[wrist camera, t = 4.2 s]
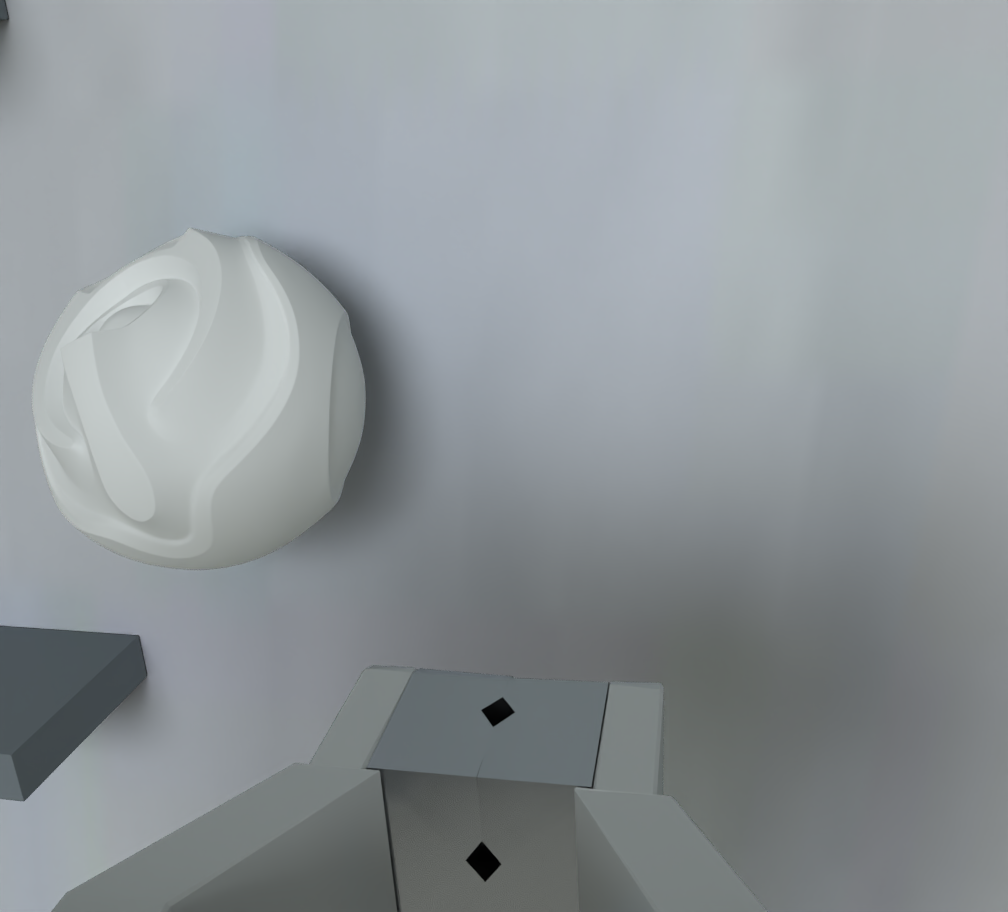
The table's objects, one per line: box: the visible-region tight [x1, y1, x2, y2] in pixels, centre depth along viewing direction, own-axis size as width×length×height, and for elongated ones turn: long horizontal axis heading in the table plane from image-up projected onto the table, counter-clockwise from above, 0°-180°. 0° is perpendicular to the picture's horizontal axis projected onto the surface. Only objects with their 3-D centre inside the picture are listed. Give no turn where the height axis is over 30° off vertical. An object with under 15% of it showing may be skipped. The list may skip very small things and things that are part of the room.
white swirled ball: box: [32, 228, 366, 570], centre depth 22 cm, size 8×8×8 cm
